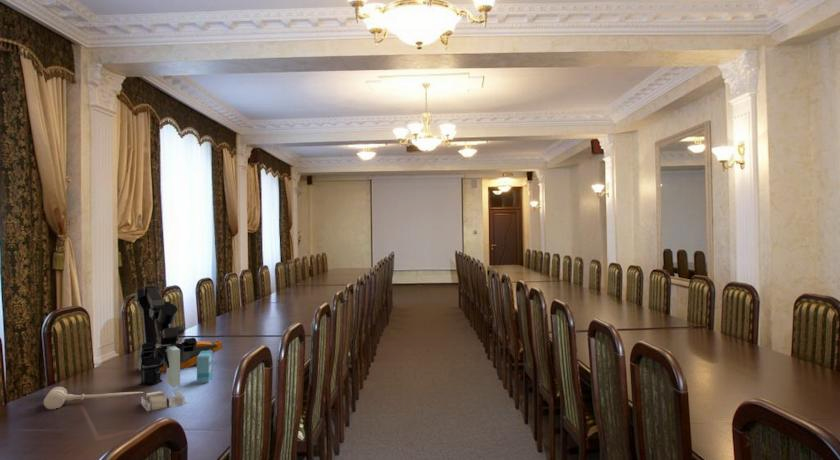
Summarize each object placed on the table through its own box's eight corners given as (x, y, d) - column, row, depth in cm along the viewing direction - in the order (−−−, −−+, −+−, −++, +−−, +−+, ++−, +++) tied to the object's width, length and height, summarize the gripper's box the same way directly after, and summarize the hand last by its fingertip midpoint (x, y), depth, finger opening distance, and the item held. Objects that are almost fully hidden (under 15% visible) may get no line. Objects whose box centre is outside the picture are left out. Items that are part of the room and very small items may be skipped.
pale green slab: (166, 382, 190) (166, 346, 190) (173, 380, 192) (174, 345, 192) (172, 387, 184) (172, 350, 184) (179, 385, 185) (180, 349, 186)
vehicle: (225, 363, 248) (225, 342, 248) (145, 374, 229) (145, 351, 229) (218, 357, 260) (218, 337, 260) (141, 367, 241) (141, 345, 241)
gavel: (146, 397, 204) (47, 402, 190) (147, 382, 204) (49, 386, 190) (145, 405, 195) (41, 411, 180) (147, 389, 195) (43, 393, 181)
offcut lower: (146, 403, 185) (146, 398, 186) (161, 400, 189) (161, 395, 189) (151, 409, 179) (151, 404, 179) (166, 406, 182) (166, 401, 182)
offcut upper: (146, 398, 186) (146, 393, 186) (161, 395, 189) (161, 390, 189) (151, 404, 179) (151, 398, 179) (166, 401, 182) (166, 396, 182)
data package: (208, 385, 212) (208, 355, 212) (196, 386, 210) (196, 356, 211) (212, 377, 223) (212, 349, 223) (201, 378, 222) (201, 350, 222)
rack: (140, 406, 185) (140, 396, 185) (179, 399, 193) (179, 389, 194) (147, 413, 178) (147, 403, 178) (187, 406, 186) (187, 396, 186)
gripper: (141, 321, 187) (147, 357, 178) (195, 316, 198) (204, 350, 190) (136, 339, 193) (142, 375, 184) (189, 333, 204) (197, 367, 196)
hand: (172, 366), depth 188 cm, fingers closed on pale green slab, 2 cm apart
